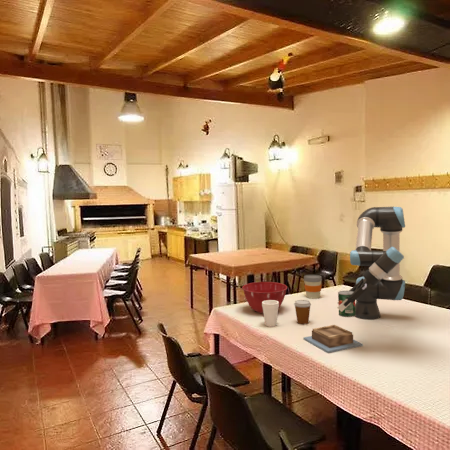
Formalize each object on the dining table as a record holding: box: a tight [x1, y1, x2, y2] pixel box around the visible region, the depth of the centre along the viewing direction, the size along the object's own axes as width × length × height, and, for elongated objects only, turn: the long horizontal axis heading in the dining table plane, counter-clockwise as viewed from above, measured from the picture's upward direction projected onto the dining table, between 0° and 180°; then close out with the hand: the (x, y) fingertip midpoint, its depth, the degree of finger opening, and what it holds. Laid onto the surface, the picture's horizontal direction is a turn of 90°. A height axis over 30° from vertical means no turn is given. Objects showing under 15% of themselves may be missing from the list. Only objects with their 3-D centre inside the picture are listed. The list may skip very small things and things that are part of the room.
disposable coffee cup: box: [293, 299, 312, 325], centre depth 228 cm, size 10×10×12 cm
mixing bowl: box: [241, 281, 288, 314], centre depth 255 cm, size 28×28×16 cm
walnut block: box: [311, 324, 354, 348], centre depth 196 cm, size 14×14×5 cm
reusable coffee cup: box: [303, 274, 323, 300], centre depth 283 cm, size 13×13×15 cm
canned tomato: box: [337, 290, 356, 318], centre depth 192 cm, size 8×8×11 cm
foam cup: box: [262, 300, 280, 328], centre depth 226 cm, size 10×9×13 cm
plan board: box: [303, 335, 364, 354], centre depth 196 cm, size 20×20×1 cm
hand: (339, 307), depth 193 cm, fingers closed on canned tomato, 8 cm apart
